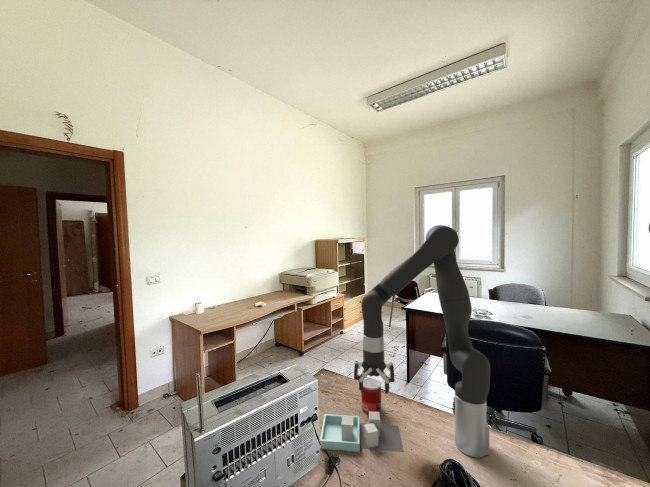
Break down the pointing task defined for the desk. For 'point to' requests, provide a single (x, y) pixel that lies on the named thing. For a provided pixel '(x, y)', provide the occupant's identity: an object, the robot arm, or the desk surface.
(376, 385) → the canned food
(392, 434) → the mat
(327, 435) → the bin
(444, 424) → the desk surface
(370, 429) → the stone
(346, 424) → the stone
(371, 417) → the stone
